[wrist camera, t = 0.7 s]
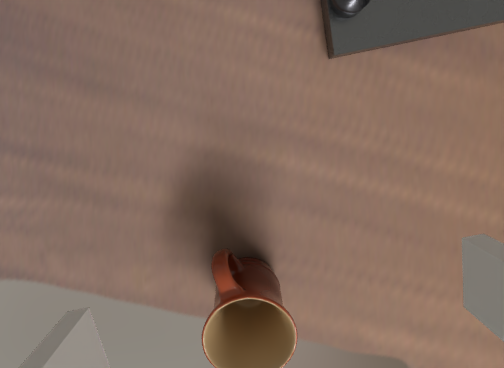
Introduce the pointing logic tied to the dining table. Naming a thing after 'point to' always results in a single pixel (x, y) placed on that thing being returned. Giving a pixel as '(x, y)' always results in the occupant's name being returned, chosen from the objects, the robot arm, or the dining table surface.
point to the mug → (247, 316)
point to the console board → (400, 21)
